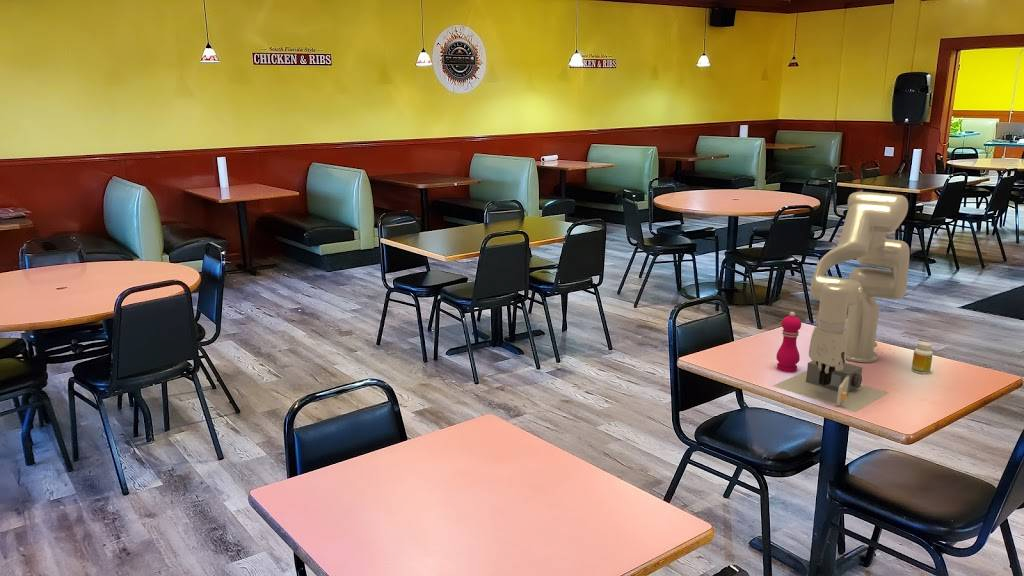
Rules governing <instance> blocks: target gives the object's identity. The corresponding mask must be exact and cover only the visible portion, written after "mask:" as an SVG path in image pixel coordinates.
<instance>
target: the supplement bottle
mask: <svg viewBox="0 0 1024 576" xmlns="http://www.w3.org/2000/svg"><path fill="white" fill-rule="evenodd" d="M931 349H932V343H930V342H927V341H918V342H917V346H916V348H914V351H913V357H912V364H911V371H912V372H914V373H916V374H922V375H928V374H930V373H931V367H932V361H933V355H934V352H933V351H932V350H931Z"/></svg>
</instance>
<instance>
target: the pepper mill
mask: <svg viewBox="0 0 1024 576" xmlns="http://www.w3.org/2000/svg"><path fill="white" fill-rule="evenodd" d="M788 314H789V315H787V316H785V317H784V318H782V320H781V327H782V329H783V330H782V332H781V335H782V336H783V339H782V343H781V345H780V346H779V348H778V350H777V352H776V355H775V358H776V360H777V364H776V369H777V370H778V371H780V372H784V373H796V372H797V370H798V365H797V364H798V363H799V362H800V359H801V358H800V352H799V350H798V347H797V338H798V337H799V334H800V331H799V330H800V329H801V328H802V321H801V319H800V318H799V317H797V316H796V312H795V311H790V312H789V313H788Z"/></svg>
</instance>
